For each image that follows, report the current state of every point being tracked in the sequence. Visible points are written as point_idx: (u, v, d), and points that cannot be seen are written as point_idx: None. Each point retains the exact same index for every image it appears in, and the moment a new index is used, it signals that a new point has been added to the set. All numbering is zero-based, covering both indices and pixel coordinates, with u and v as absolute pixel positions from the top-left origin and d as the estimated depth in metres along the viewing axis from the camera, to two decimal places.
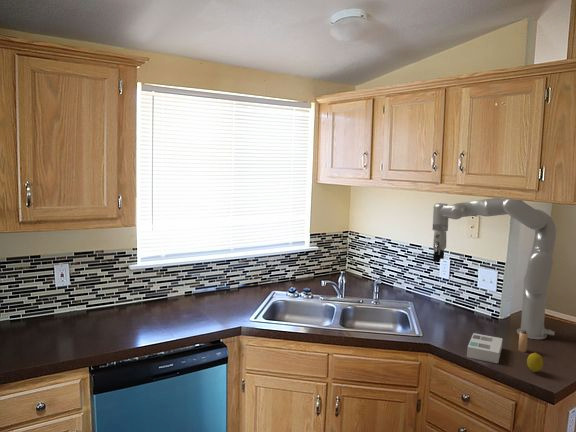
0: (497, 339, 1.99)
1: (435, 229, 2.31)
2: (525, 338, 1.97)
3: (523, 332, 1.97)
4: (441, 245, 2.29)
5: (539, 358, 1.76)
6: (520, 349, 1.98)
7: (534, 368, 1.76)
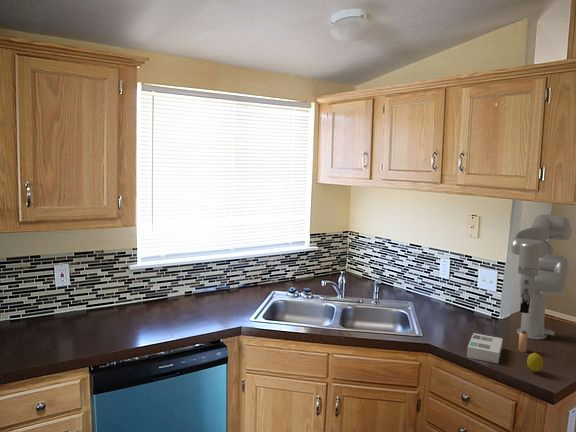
0: (497, 339, 1.99)
1: (523, 273, 1.93)
2: (525, 338, 1.97)
3: (523, 332, 1.97)
4: (531, 293, 1.91)
5: (539, 358, 1.76)
6: (520, 349, 1.98)
7: (534, 368, 1.76)
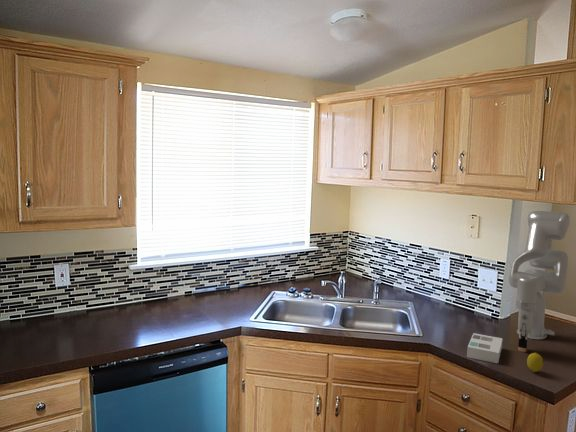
0: (497, 339, 1.99)
1: (521, 308, 1.94)
2: None
3: None
4: (529, 328, 1.92)
5: (539, 358, 1.76)
6: (520, 349, 1.98)
7: (534, 368, 1.76)
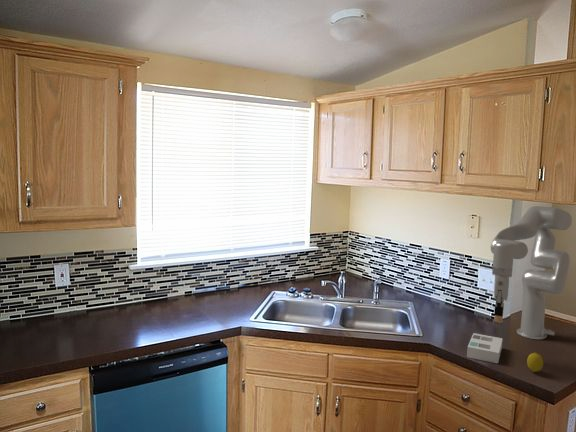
0: (497, 339, 1.99)
1: (497, 274, 1.88)
2: None
3: None
4: (505, 294, 1.86)
5: (539, 358, 1.76)
6: (496, 320, 1.91)
7: (534, 368, 1.76)
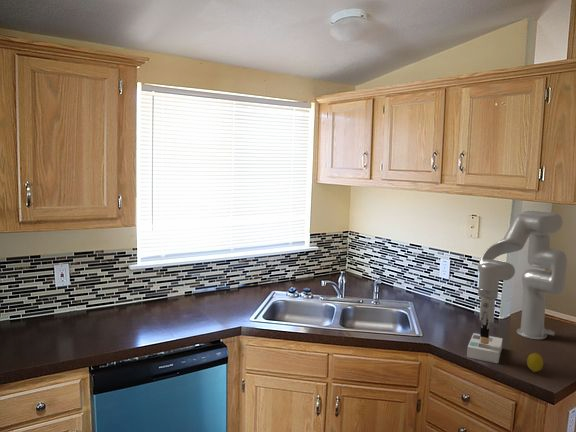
0: (497, 339, 1.99)
1: (482, 296, 1.87)
2: None
3: None
4: (490, 316, 1.85)
5: (539, 358, 1.76)
6: (482, 341, 1.91)
7: (534, 368, 1.76)
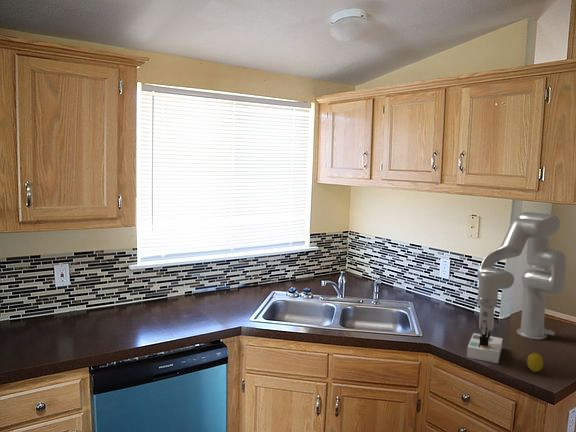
0: (497, 339, 1.99)
1: (482, 304, 1.87)
2: None
3: None
4: (489, 325, 1.85)
5: (539, 358, 1.76)
6: None
7: (534, 368, 1.76)
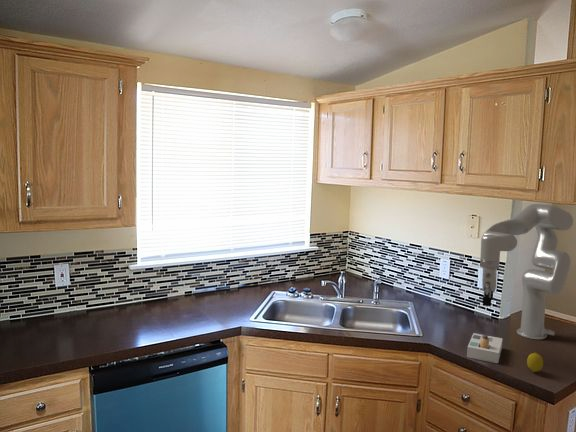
0: (497, 339, 1.99)
1: (484, 266, 1.92)
2: (486, 344, 1.90)
3: (484, 337, 1.90)
4: (492, 286, 1.90)
5: (539, 358, 1.76)
6: None
7: (534, 368, 1.76)
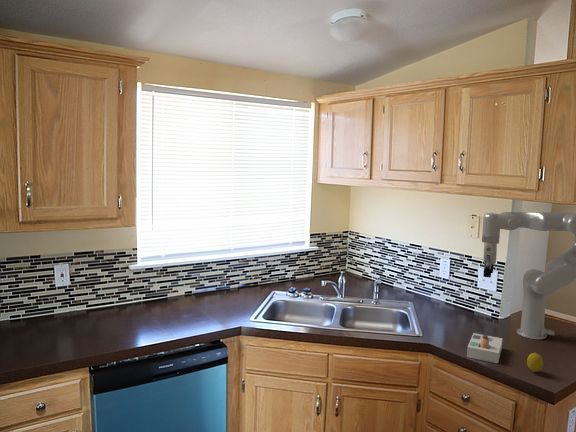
0: (497, 339, 1.99)
1: (485, 241, 2.13)
2: (486, 344, 1.90)
3: (484, 337, 1.91)
4: (493, 259, 2.10)
5: (539, 358, 1.76)
6: None
7: (534, 368, 1.76)
